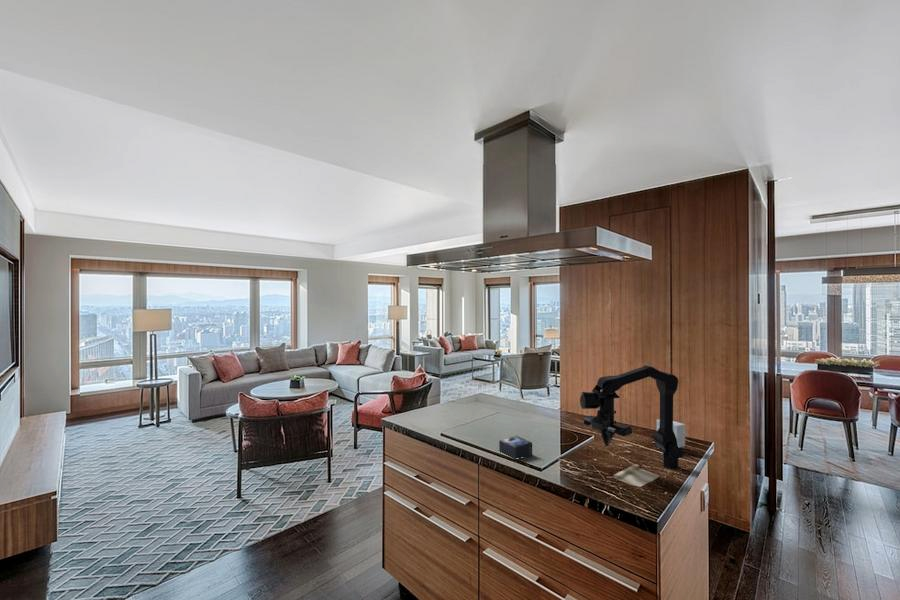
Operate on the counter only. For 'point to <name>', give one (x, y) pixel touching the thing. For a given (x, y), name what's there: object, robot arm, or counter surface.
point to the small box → (515, 447)
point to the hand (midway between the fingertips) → (607, 445)
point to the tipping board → (635, 476)
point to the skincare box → (677, 432)
